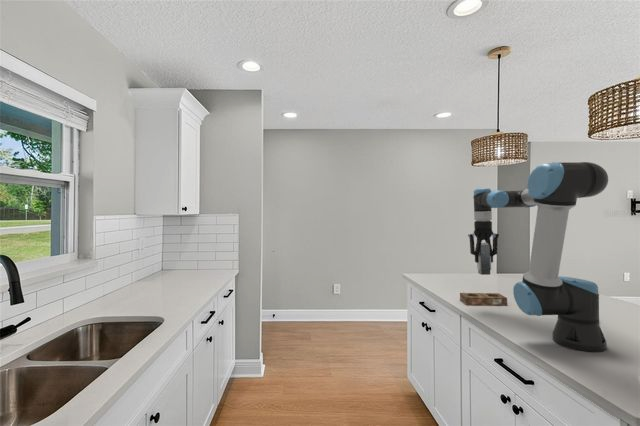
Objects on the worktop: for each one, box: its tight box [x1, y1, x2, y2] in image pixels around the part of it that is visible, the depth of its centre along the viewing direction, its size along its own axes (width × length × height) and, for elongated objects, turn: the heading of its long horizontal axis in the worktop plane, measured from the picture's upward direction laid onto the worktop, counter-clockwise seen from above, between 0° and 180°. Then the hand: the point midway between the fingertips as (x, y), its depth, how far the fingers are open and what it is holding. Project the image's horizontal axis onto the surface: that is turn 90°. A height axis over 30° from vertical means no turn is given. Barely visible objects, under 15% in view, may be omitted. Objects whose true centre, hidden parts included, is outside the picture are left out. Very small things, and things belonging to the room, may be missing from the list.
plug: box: [477, 242, 491, 276], centre depth 155 cm, size 4×4×15 cm
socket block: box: [459, 292, 508, 307], centre depth 170 cm, size 20×10×4 cm, turn 84°
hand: (484, 269), depth 155 cm, fingers closed on plug, 4 cm apart
